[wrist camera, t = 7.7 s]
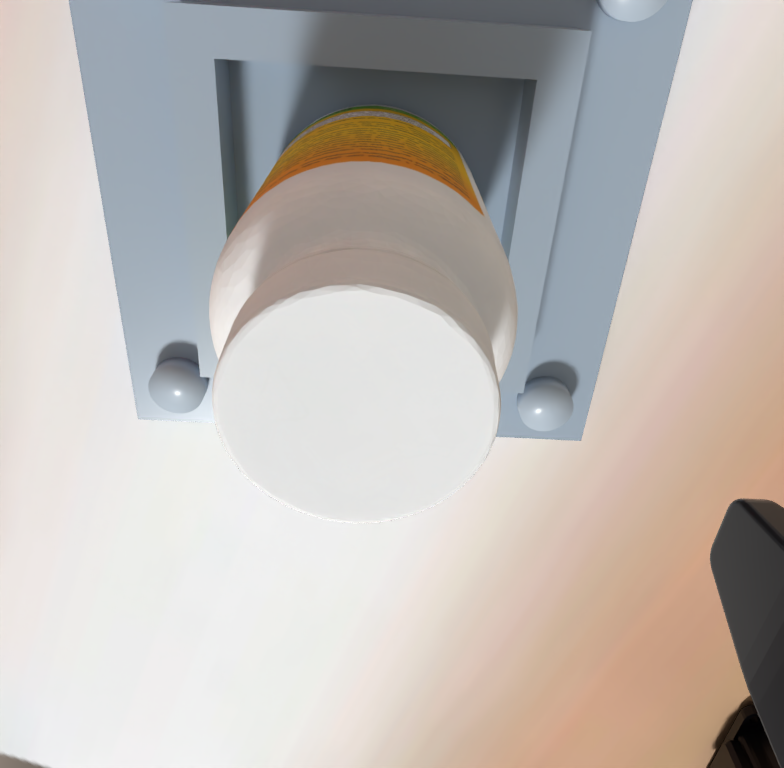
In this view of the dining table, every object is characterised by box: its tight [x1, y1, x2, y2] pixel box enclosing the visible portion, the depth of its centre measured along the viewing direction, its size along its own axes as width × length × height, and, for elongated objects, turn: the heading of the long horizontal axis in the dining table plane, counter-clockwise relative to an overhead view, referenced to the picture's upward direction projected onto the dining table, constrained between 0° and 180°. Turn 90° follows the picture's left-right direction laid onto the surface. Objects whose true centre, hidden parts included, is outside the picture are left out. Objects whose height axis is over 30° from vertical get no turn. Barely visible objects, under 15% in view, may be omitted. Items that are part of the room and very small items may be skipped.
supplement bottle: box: [209, 104, 518, 523], centre depth 13 cm, size 5×5×10 cm
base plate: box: [69, 0, 693, 441], centre depth 17 cm, size 14×14×3 cm
